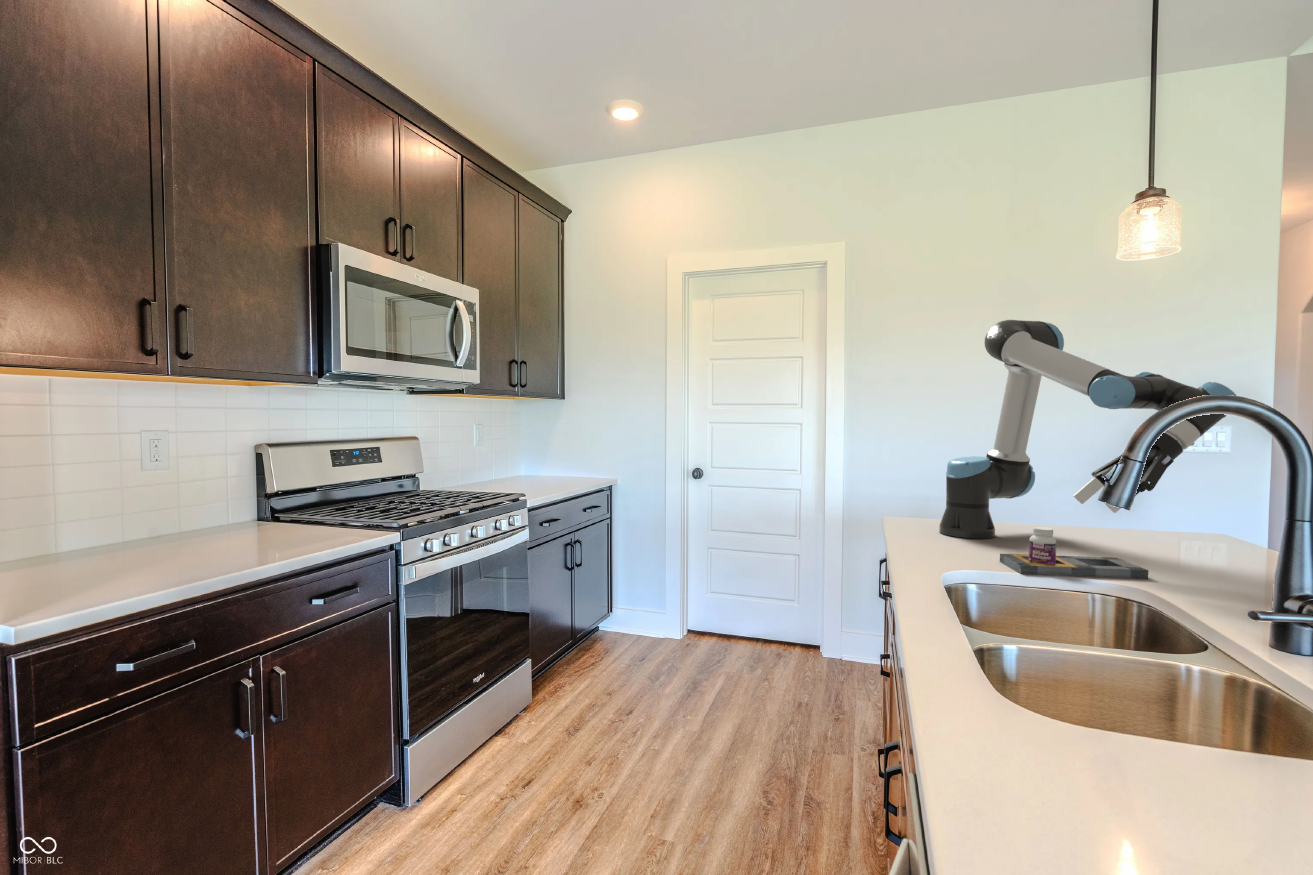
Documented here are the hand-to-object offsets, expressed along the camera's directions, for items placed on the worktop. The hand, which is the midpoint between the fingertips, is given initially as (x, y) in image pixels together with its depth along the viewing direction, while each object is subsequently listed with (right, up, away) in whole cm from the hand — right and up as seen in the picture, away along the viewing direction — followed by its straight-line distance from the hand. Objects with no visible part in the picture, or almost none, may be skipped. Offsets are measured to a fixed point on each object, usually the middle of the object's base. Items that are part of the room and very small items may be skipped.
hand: (1092, 503), depth 141 cm
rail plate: (-4, -16, +1) cm, 16 cm away
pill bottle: (-10, -16, +2) cm, 19 cm away
